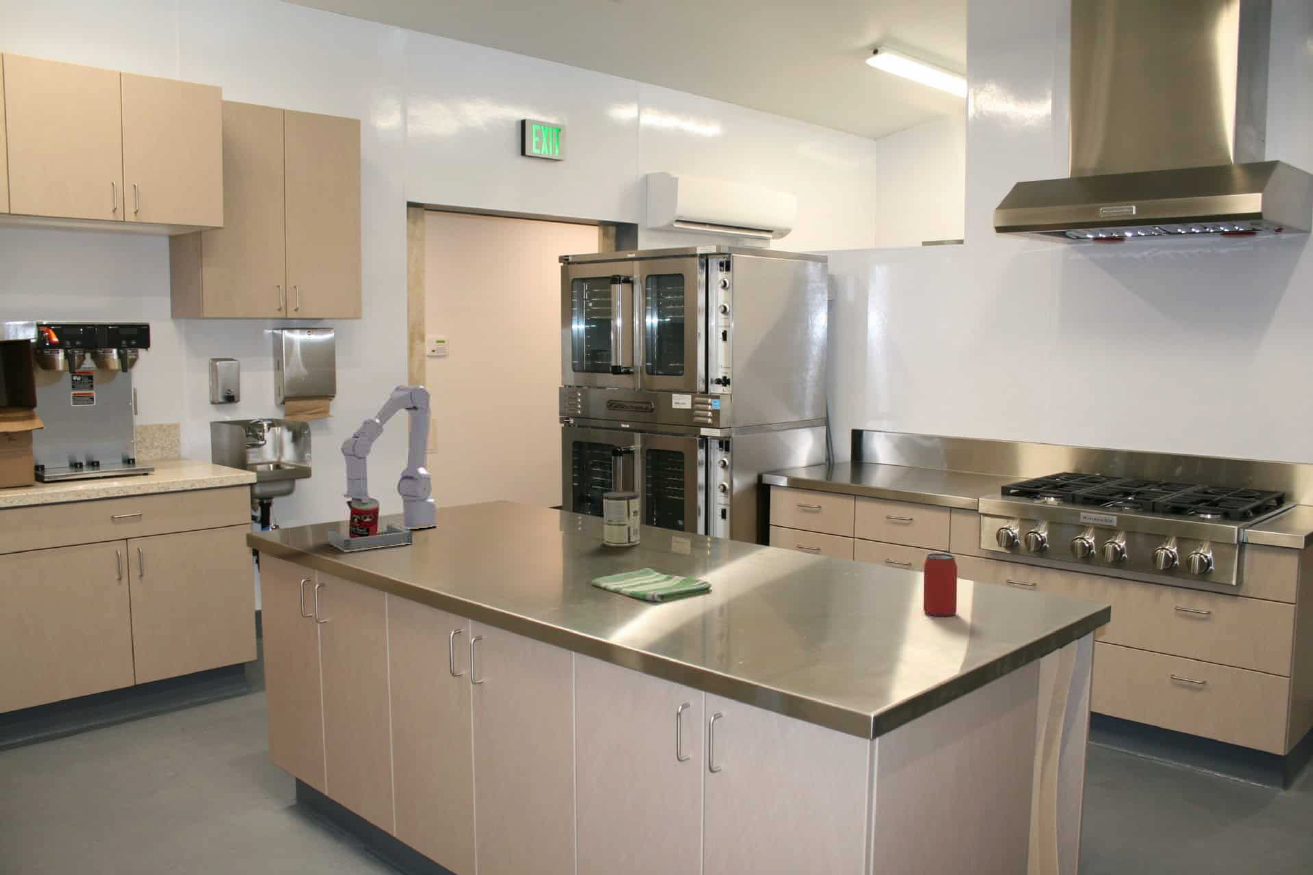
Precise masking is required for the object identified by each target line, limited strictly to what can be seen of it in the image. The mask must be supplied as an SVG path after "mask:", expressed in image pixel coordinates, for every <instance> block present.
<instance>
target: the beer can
mask: <svg viewBox="0 0 1313 875" xmlns="http://www.w3.org/2000/svg"><path fill="white" fill-rule="evenodd" d="M955 558H956V557H955V555H953V554H950V553H943V552H942V553H929V554H927V555H926V559H925V560H924V565H923V612H924V613H925V614H927V615H929V616H933V617H941V618H945V617H952V616H954V615H955V614H956V613H957V609H958V608H957V606H958V604H957V600H958V594H957V593H958V565H957V562H956V560H955Z"/></svg>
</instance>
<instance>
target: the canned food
mask: <svg viewBox="0 0 1313 875" xmlns="http://www.w3.org/2000/svg"><path fill="white" fill-rule="evenodd" d="M351 500H352V499H351ZM349 512H350V514H349V515H350V516H349V525H348V529H349V530H348V538H349V539H350V538H358V537H367V536H375V535H378V527H379V526H378V525H379V515H380V514H379V512H380V501H379V500H377V499H375V498H373V497H369V503H362V502H361V499H357V498H356V499H354V500H352V502H351V510H350V511H349Z"/></svg>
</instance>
